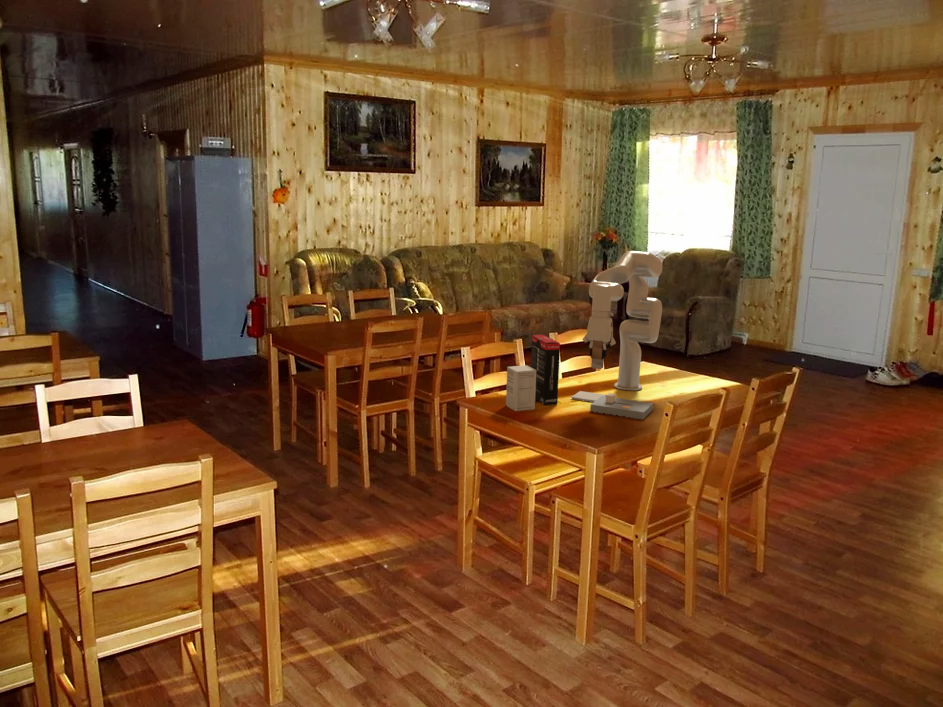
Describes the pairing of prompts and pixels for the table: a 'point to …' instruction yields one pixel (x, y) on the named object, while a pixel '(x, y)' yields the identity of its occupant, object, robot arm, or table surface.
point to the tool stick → (597, 355)
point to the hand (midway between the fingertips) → (597, 357)
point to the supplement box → (521, 388)
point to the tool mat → (587, 396)
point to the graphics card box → (546, 368)
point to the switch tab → (610, 397)
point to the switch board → (622, 407)
